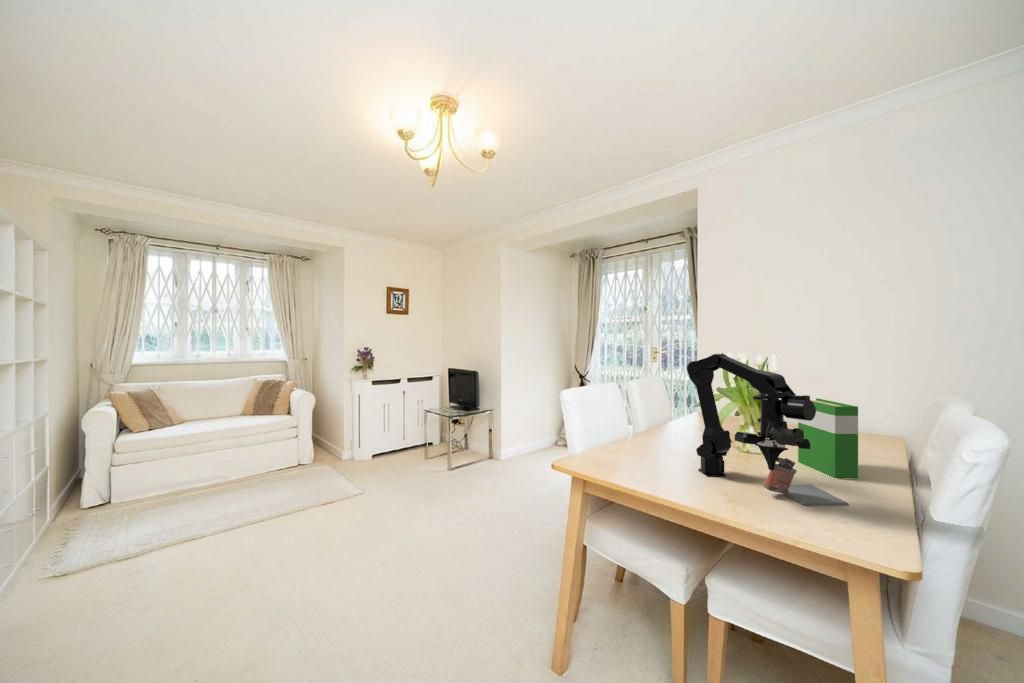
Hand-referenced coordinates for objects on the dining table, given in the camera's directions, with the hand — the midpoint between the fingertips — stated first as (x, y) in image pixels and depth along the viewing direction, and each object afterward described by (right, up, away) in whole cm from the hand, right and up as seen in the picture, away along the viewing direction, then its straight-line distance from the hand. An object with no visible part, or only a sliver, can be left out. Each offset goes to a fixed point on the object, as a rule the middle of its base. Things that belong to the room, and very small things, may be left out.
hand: (771, 470), depth 114 cm
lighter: (+3, -7, +2) cm, 7 cm away
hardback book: (+35, -8, +24) cm, 43 cm away
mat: (+12, -8, +2) cm, 15 cm away
